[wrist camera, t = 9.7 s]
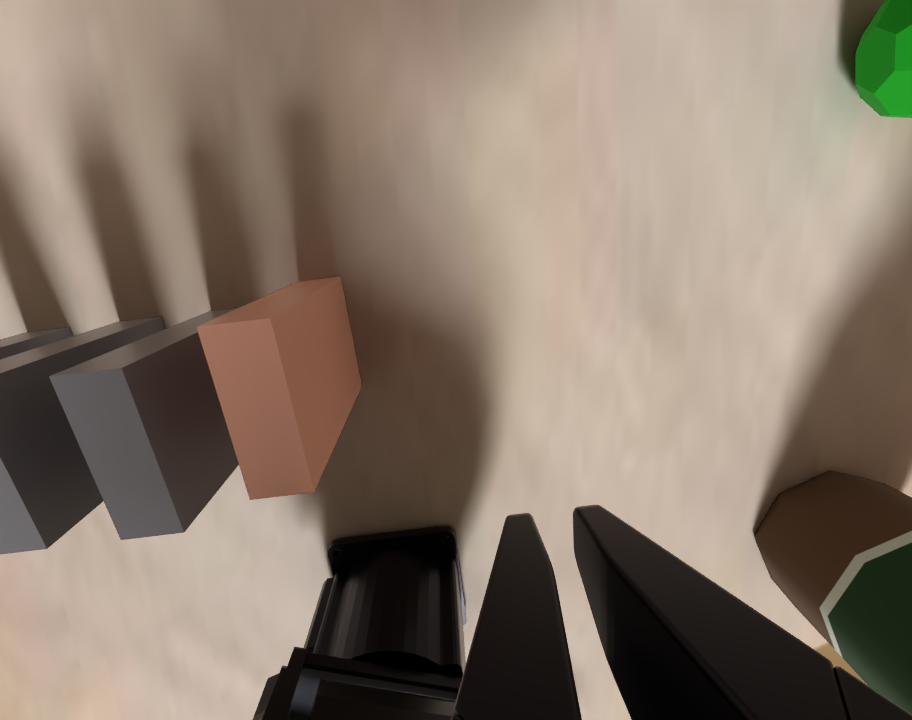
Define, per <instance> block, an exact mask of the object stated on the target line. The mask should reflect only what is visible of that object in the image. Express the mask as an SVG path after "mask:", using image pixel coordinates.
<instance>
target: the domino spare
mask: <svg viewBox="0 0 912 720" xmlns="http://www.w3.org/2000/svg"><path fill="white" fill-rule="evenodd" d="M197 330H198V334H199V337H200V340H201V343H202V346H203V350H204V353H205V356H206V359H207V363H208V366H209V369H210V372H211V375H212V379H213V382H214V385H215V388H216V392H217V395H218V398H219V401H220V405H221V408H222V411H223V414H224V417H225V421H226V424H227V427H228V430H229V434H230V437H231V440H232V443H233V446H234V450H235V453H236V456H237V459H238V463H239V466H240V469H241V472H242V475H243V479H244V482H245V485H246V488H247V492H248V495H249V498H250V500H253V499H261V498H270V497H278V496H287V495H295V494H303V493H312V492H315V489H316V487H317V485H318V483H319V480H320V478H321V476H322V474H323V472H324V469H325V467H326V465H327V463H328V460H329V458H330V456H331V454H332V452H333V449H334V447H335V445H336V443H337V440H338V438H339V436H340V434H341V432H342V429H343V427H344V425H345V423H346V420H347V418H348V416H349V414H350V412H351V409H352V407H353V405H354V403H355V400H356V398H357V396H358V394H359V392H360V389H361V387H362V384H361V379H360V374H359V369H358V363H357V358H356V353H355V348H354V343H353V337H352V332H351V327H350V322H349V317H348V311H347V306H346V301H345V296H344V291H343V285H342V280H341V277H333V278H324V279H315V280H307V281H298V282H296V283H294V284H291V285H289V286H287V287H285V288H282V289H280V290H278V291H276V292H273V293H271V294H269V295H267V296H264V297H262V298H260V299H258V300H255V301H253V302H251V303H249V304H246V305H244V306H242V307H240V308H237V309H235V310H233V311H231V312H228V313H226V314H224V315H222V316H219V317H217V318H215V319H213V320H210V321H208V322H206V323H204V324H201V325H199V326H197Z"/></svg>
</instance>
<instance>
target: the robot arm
mask: <svg viewBox="0 0 912 720" xmlns="http://www.w3.org/2000/svg"><path fill="white" fill-rule="evenodd" d="M573 534H574V553H575V558H576V562H577V565H578V569H579V572H580V575H581V578H582V582H583V585H584V588H585V591H586V595H587V598H588V601H589V604H590V608H591V611H592V614H593V617H594V621H595V624H596V627H597V630H598V634H599V637H600V640H601V643H602V646H603V649H604V652H605V655H606V658H607V661H608V664H609V666H610V669H611V671H612V674H613V676H614V679H615V681H616V683H617V686H618V688H619V691H620V693H621V695H622V698H623V700H624V702H625V705H626V707H627V710H628V712H629V714H630V717H631V719H632V720H912V714H910V713H908V712H907V711H905V710H904V709H902V708H901V707H899V706H898V705H896V704H895V703H893V702H892V701H890V700H889V699H887V698H886V697H884V696H882V695H881V694H879V693H878V692H876V691H875V690H873V689H872V688H871V687H869V686H867V685H866V684H865V683H863V682H861V681H860V680H859V679H857V678H856V677H854V676H853V675H851V674H850V673H848V672H847V671H845V670H844V669H842V668H841V667H834V668H833V665H832V663H831V661H830V660H828V659H827V658H825V657H824V656H822V655H821V654H820V653H818V652H817V651H815V650H814V649H812V648H811V647H809V646H808V645H806V644H805V643H803V642H802V641H800V640H799V639H797V638H796V637H794V636H793V635H791V634H790V633H788V632H787V631H786V630H784V629H783V628H781V627H780V626H778V625H777V624H775V623H774V622H772V621H771V620H769V619H768V618H766V617H765V616H763V615H762V614H760V613H759V612H757V611H756V610H754V609H753V608H751V607H750V606H748V605H747V604H745V603H744V602H742V601H741V600H740V599H738V598H737V597H735V596H734V595H732V594H731V593H729V592H728V591H726V590H725V589H723V588H722V587H720V586H719V585H717V584H716V583H714V582H713V581H711V580H710V579H708V578H707V577H705V576H704V575H702V574H701V573H699V572H698V571H697V570H695V569H694V568H692V567H691V566H689V565H688V564H686V563H685V562H683V561H682V560H680V559H679V558H677V557H676V556H674V555H673V554H671V553H670V552H668V551H667V550H665V549H664V548H662V547H661V546H659V545H658V544H656V543H655V542H653V541H652V540H651V539H649V538H648V537H646V536H645V535H643V534H642V533H640V532H639V531H637V530H636V529H634V528H633V527H631V526H630V525H628V524H627V523H625V522H624V521H622V520H621V519H619V518H618V517H616V516H615V515H613V514H612V513H610V512H609V511H607V510H606V509H605V508H603V507H601V506H599V505H589V506H581V507H576V508H575V509H574V512H573ZM442 536H449V537H448V538H443V537H442ZM335 549H340V550H342V551H337V550H335ZM328 556H329V560H330V564H331V568H332V572H333V576H334V578H327V580H326V581H325V582H324V584H323V587H322V590H321V593H320V597H319V600H318V603H317V606H316V610H315V613H314V616H313V619H312V623H311V626H310V629H309V632H308V636H307V639H306V642H305V645H304V648H299V647H294V650H293V652H292V655H291V658H290V661H289V663H288V666H282V668H281V671H280V673H279V674H277V675H274V676H272V677H270V678H268V680H267V682H266V685H265V688H264V691H263V693H262V696H261V699H260V702H259V704H258V707H257V710H256V712H255V715H254V718H253V720H582V718H581V713H580V708H579V702H578V697H577V692H576V686H575V681H574V676H573V670H572V665H571V660H570V654H569V649H568V644H567V638H566V633H565V628H564V622H563V617H562V611H561V606H560V601H559V595H558V590H557V585H556V579H555V575H554V571H553V567H552V564H551V562H550V559H549V556H548V554H547V551H546V549H545V546H544V544H543V541H542V539H541V537H540V534H539V532H538V529H537V527H536V524H535V522H534V519H533V517H532V515H531V514H529V513H523V514H515V515H509V516H507V518H506V520H505V523H504V527H503V531H502V534H501V538H500V542H499V545H498V549H497V553H496V556H495V560H494V564H493V567H492V571H491V575H490V578H489V582H488V586H487V589H486V593H485V597H484V600H483V604H482V608H481V611H480V615H479V619H478V622H477V626H476V629H475V633H474V637H473V640H472V644H471V648H470V651H469V655H468V659H467V662H465V647H464V632H463V625H465V623H466V611H465V604H464V596H463V589H462V581H461V574H460V566H459V559H458V551H457V544H456V537H455V532H454V530H453V529H452V528H451V527H448V526H442V527H434V528H426V529H417V530H409V531H401V532H393V533H384V534H376V535H368V536H360V537H352V538H343V539H337V540H334V541H332V542H331V544H330V546H329V549H328Z"/></svg>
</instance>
